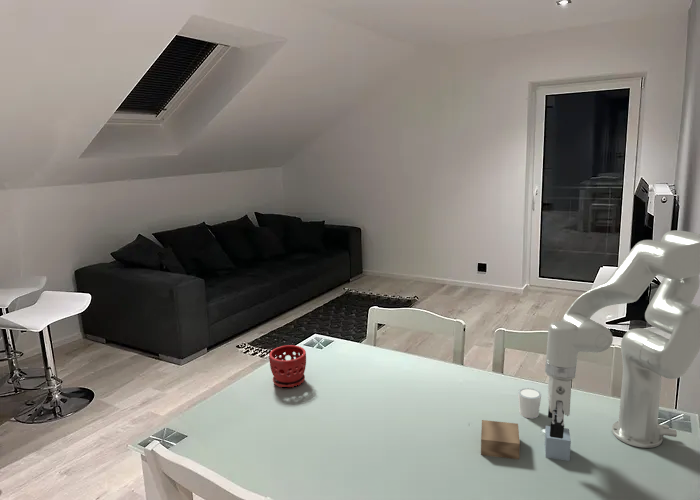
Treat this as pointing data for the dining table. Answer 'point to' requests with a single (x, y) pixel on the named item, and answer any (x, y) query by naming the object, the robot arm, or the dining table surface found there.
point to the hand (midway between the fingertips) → (555, 427)
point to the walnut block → (500, 439)
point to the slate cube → (557, 445)
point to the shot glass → (529, 402)
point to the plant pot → (288, 366)
